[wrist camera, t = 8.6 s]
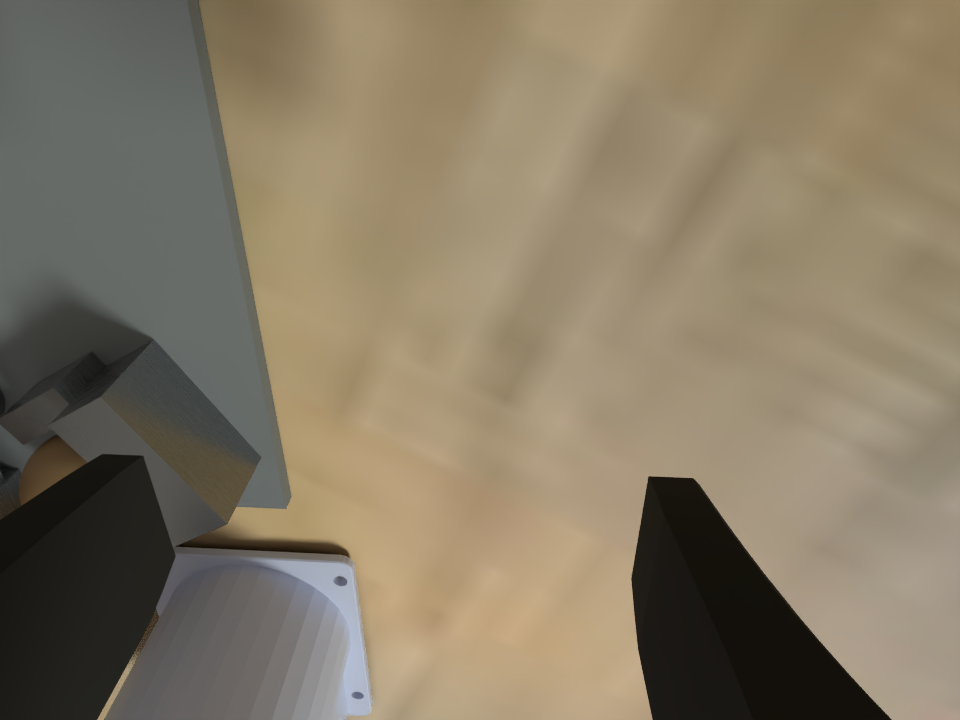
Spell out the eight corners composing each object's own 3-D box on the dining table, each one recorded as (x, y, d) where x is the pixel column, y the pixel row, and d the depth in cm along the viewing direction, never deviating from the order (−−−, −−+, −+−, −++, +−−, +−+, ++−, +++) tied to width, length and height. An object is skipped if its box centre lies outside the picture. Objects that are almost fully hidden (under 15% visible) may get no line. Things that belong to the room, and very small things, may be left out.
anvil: (273, 470, 23) (240, 537, 20) (175, 513, 24) (133, 582, 22) (139, 323, 20) (83, 379, 18) (38, 381, 21) (-29, 442, 19)
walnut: (184, 491, 24) (133, 574, 20) (82, 486, 24) (16, 568, 21) (159, 404, 22) (98, 481, 19) (48, 400, 22) (-31, 476, 19)
